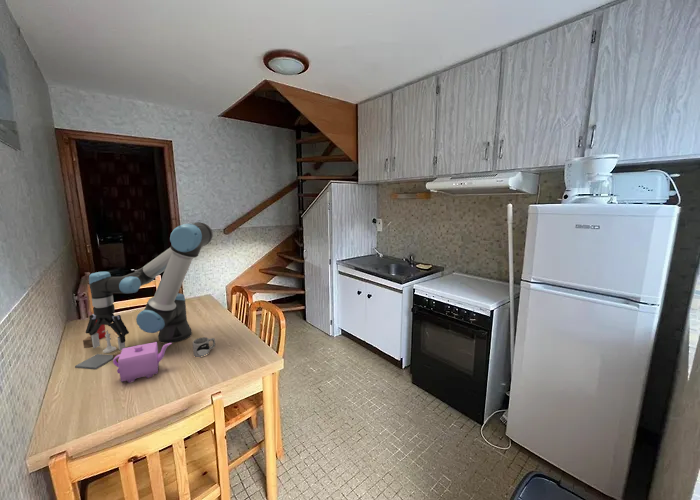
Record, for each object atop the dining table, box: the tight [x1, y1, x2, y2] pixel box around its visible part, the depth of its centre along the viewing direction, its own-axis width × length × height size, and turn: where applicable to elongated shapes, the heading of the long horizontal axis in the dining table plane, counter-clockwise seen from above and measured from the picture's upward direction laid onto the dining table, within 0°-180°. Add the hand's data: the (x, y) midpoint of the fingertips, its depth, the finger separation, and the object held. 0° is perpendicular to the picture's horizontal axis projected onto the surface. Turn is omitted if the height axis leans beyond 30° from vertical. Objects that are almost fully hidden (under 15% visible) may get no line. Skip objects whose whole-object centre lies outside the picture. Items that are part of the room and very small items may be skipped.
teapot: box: [112, 341, 173, 384], centre depth 120 cm, size 20×10×12 cm, turn 120°
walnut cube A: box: [82, 336, 93, 349], centre depth 143 cm, size 4×4×4 cm
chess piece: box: [102, 330, 117, 354], centre depth 138 cm, size 5×5×10 cm
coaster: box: [74, 353, 113, 370], centre depth 129 cm, size 10×10×1 cm
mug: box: [192, 337, 216, 358], centre depth 137 cm, size 10×7×7 cm, turn 143°
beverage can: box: [96, 320, 107, 340], centre depth 151 cm, size 5×5×12 cm
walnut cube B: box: [112, 350, 122, 363], centre depth 129 cm, size 4×4×4 cm
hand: (109, 347), depth 139 cm, fingers open, 13 cm apart
